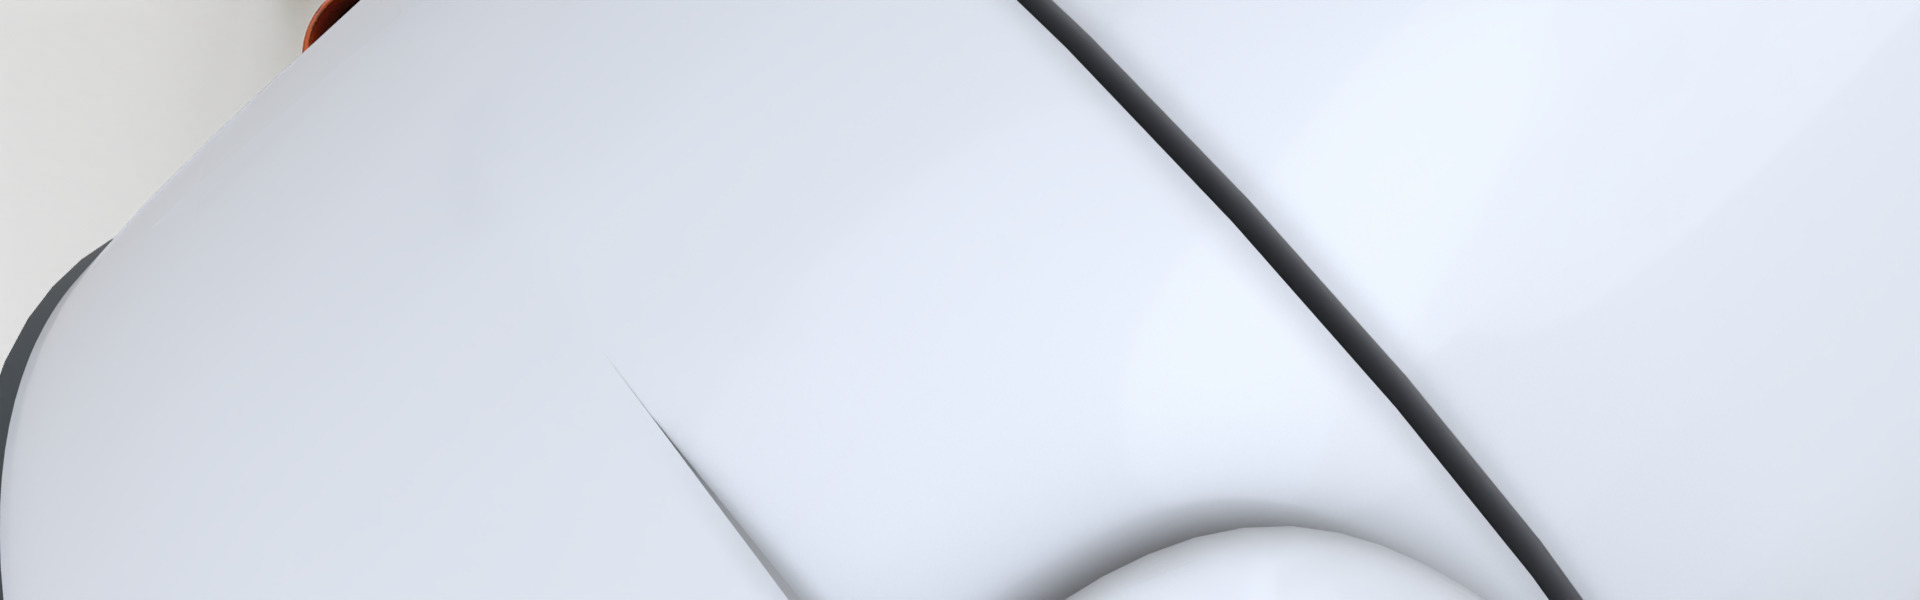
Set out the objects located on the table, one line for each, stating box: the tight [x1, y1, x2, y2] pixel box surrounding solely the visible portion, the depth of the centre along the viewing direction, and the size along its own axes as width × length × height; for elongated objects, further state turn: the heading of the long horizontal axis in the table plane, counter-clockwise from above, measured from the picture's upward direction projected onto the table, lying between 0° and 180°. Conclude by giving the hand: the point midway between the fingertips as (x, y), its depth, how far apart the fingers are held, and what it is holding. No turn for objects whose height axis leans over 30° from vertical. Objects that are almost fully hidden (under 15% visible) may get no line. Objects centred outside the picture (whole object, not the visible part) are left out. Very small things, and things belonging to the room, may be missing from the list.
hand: (1139, 524), depth 31 cm, fingers open, 8 cm apart
